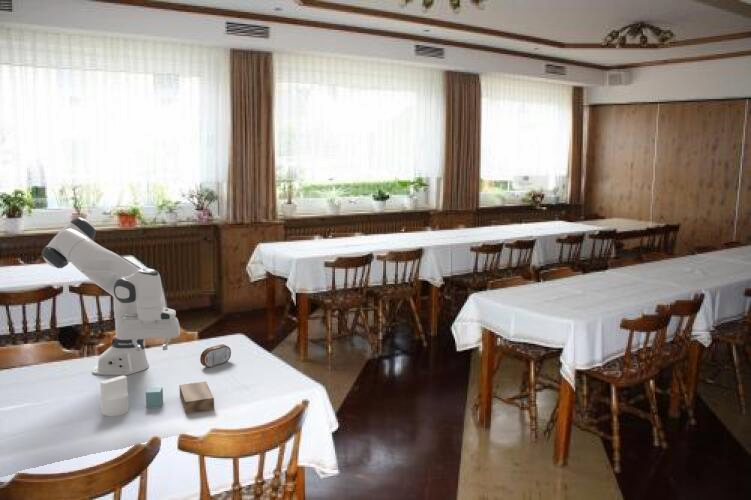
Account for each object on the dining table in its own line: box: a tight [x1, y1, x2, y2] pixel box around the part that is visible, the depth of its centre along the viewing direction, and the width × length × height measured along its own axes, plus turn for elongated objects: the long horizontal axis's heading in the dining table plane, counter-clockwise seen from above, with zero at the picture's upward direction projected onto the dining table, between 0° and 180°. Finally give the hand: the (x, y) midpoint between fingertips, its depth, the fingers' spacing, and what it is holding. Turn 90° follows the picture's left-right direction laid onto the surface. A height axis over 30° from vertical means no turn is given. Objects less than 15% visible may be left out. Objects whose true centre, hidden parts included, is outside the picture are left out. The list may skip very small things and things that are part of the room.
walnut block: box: [179, 381, 215, 415], centre depth 235 cm, size 10×18×5 cm, turn 24°
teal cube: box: [145, 386, 164, 409], centre depth 233 cm, size 5×5×6 cm
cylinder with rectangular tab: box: [99, 375, 130, 417], centre depth 227 cm, size 9×9×12 cm
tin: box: [199, 344, 232, 368], centre depth 277 cm, size 15×3×8 cm, turn 141°
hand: (151, 350), depth 230 cm, fingers open, 8 cm apart
